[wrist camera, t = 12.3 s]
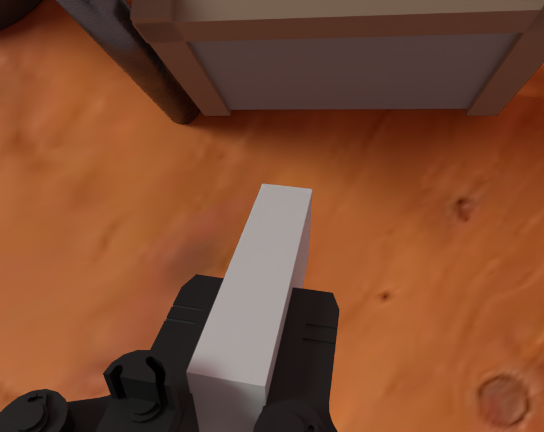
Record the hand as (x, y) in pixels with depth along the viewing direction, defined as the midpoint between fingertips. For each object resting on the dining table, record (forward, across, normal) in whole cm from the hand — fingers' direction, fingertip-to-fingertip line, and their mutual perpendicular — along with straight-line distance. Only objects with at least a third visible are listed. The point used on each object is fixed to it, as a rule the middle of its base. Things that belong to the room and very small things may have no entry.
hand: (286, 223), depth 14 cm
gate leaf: (+17, +1, -3) cm, 18 cm away
